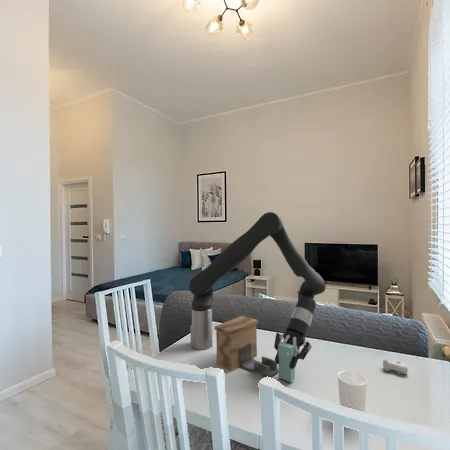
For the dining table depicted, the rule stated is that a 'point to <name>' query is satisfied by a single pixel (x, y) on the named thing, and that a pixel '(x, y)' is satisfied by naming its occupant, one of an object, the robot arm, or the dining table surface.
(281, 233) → the robot arm
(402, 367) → the pale two-lobed sculpture
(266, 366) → the hinge cabinet
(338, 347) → the dining table surface
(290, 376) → the tall teal block
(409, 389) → the dining table surface
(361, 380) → the white cup
